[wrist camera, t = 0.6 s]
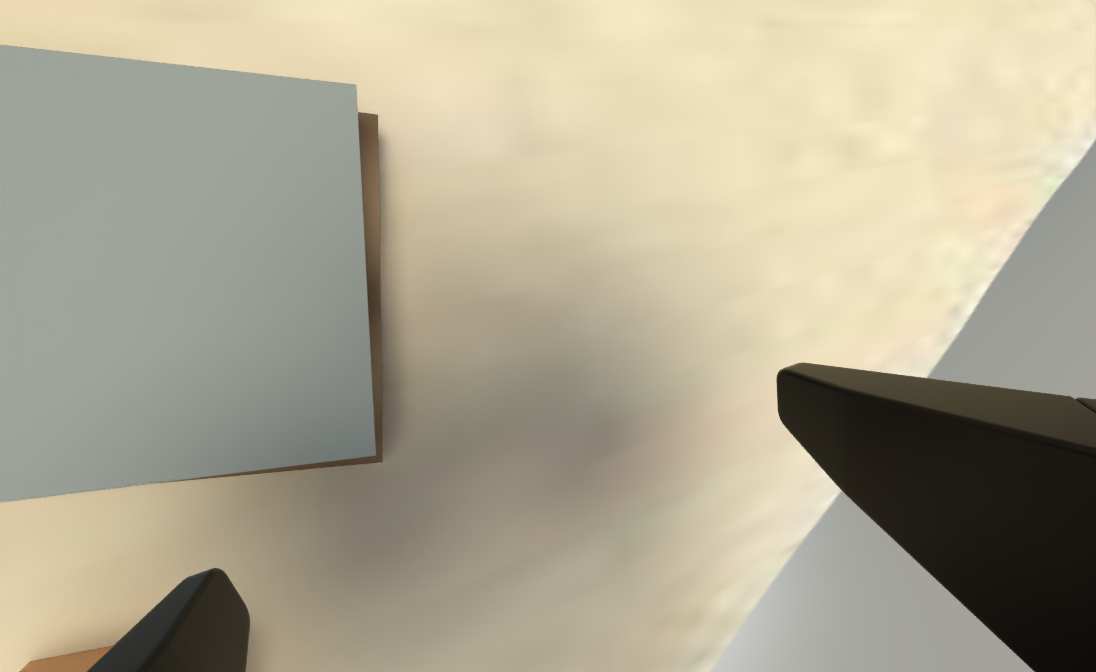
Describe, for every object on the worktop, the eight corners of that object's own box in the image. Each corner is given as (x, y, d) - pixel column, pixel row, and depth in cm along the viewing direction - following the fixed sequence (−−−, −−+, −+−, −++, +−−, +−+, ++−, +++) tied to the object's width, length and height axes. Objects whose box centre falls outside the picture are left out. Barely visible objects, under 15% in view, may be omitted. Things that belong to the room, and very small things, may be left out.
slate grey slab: (373, 439, 18) (375, 455, 15) (-280, 514, 12) (-427, 555, 10) (356, 118, 18) (356, 84, 15) (-313, 57, 12) (-470, -9, 10)
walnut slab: (379, 447, 20) (382, 462, 18) (-216, 498, 15) (-326, 527, 12) (375, 140, 20) (377, 114, 18) (-222, 73, 15) (-332, 22, 12)
